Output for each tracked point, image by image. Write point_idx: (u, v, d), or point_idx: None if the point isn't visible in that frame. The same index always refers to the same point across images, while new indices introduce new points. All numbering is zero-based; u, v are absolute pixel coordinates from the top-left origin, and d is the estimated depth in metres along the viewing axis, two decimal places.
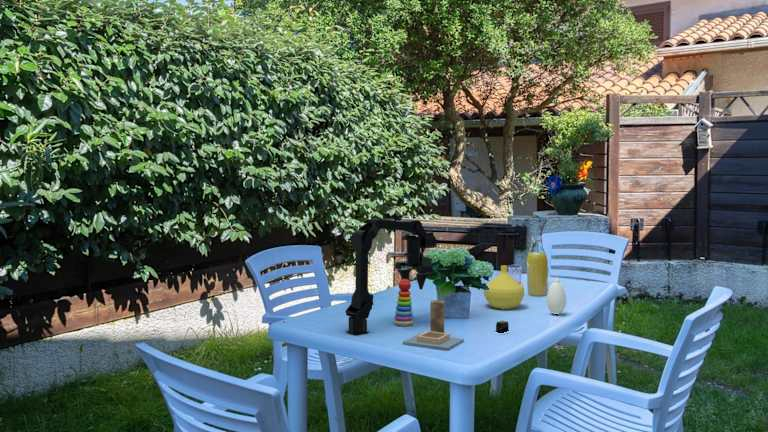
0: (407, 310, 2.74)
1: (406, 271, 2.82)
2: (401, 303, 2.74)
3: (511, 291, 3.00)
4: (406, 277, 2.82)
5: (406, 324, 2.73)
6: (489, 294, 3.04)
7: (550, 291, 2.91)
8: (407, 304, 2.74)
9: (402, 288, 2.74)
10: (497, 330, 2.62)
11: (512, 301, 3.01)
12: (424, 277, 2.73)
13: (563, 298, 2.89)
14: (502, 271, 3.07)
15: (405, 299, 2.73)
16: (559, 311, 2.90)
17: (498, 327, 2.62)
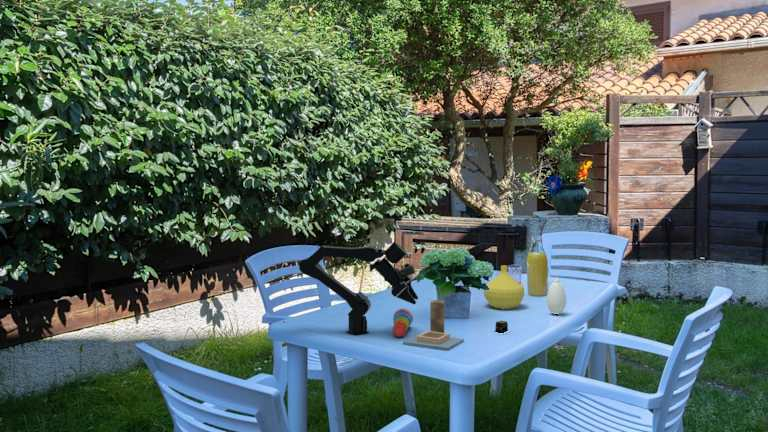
0: None
1: (406, 287, 2.64)
2: None
3: (511, 291, 3.00)
4: (410, 292, 2.64)
5: None
6: (489, 294, 3.04)
7: (550, 291, 2.91)
8: None
9: None
10: (497, 330, 2.62)
11: (512, 301, 3.01)
12: (407, 293, 2.53)
13: (563, 298, 2.89)
14: (502, 271, 3.07)
15: None
16: (559, 311, 2.90)
17: (497, 327, 2.62)
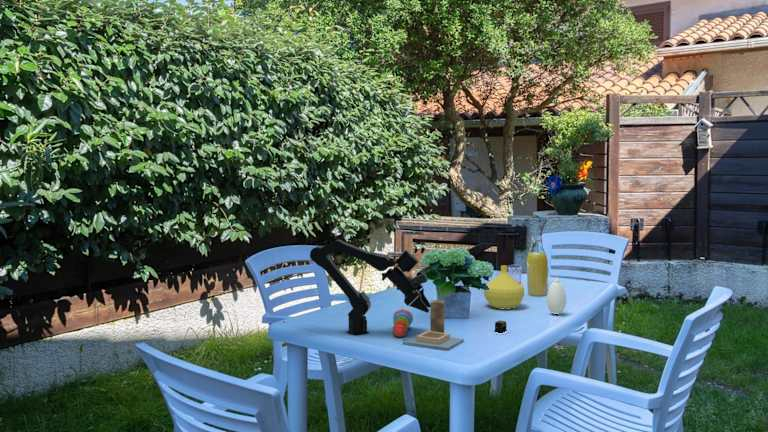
0: None
1: (419, 295, 2.64)
2: None
3: (511, 291, 3.00)
4: (423, 300, 2.63)
5: None
6: (489, 294, 3.04)
7: (550, 291, 2.91)
8: None
9: None
10: (496, 330, 2.62)
11: (512, 301, 3.01)
12: (419, 301, 2.53)
13: (563, 298, 2.89)
14: (502, 271, 3.07)
15: None
16: (559, 311, 2.90)
17: (497, 327, 2.62)
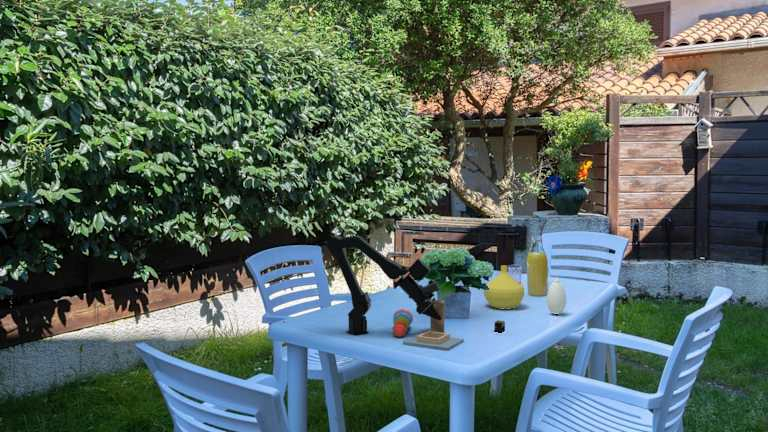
0: None
1: None
2: None
3: (511, 291, 3.00)
4: None
5: None
6: (489, 294, 3.04)
7: (550, 291, 2.91)
8: None
9: None
10: (496, 330, 2.62)
11: (512, 301, 3.01)
12: (432, 309, 2.54)
13: (563, 298, 2.89)
14: (502, 271, 3.07)
15: None
16: (559, 311, 2.90)
17: (497, 327, 2.62)
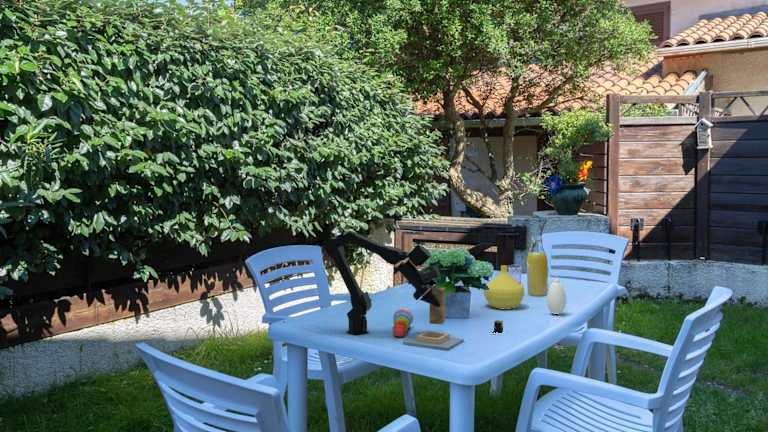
0: None
1: None
2: None
3: (511, 291, 3.00)
4: None
5: None
6: (489, 294, 3.04)
7: (550, 291, 2.91)
8: None
9: None
10: (496, 330, 2.62)
11: (512, 301, 3.01)
12: (430, 296, 2.50)
13: (563, 298, 2.89)
14: (502, 271, 3.07)
15: None
16: (559, 311, 2.90)
17: (496, 327, 2.62)
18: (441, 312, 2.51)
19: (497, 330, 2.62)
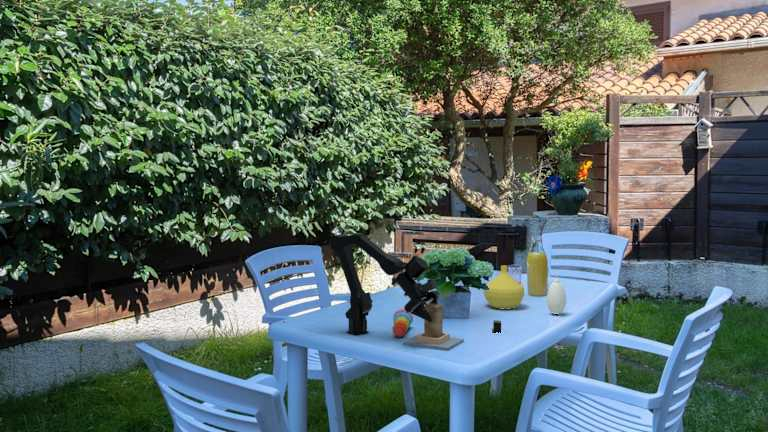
0: None
1: None
2: None
3: (511, 291, 3.00)
4: None
5: None
6: (489, 294, 3.04)
7: (550, 291, 2.91)
8: None
9: None
10: (495, 330, 2.62)
11: (512, 301, 3.01)
12: (422, 310, 2.42)
13: (563, 298, 2.89)
14: (502, 271, 3.07)
15: None
16: (559, 311, 2.90)
17: (496, 327, 2.62)
18: (435, 330, 2.43)
19: (497, 330, 2.62)
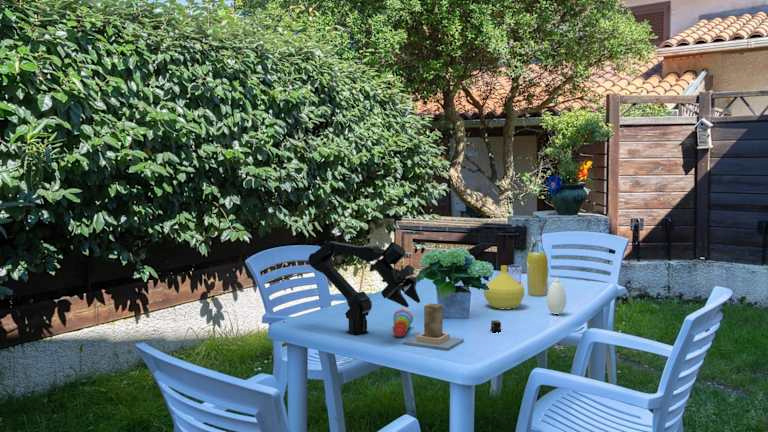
0: None
1: (409, 289, 2.56)
2: None
3: (511, 291, 3.00)
4: (412, 295, 2.55)
5: None
6: (489, 294, 3.04)
7: (550, 291, 2.91)
8: None
9: None
10: (495, 330, 2.62)
11: (512, 301, 3.01)
12: (398, 295, 2.46)
13: (563, 298, 2.89)
14: (502, 271, 3.07)
15: None
16: (559, 311, 2.90)
17: (496, 327, 2.62)
18: (435, 330, 2.43)
19: (496, 330, 2.62)
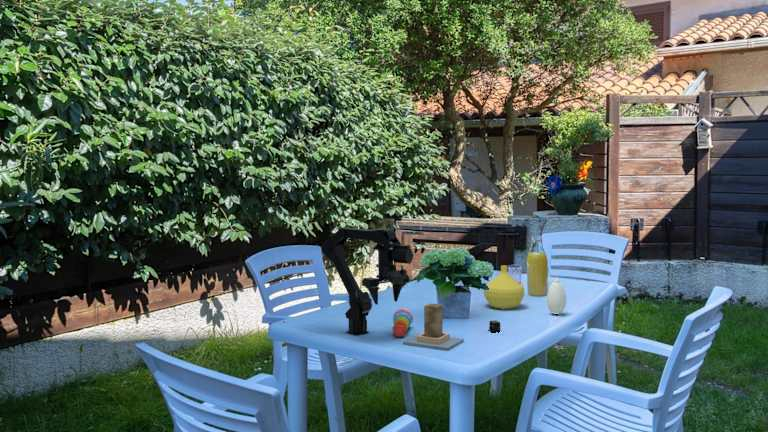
0: None
1: (396, 285, 2.58)
2: None
3: (511, 291, 3.00)
4: (395, 291, 2.58)
5: None
6: (489, 294, 3.04)
7: (550, 291, 2.91)
8: None
9: None
10: (495, 331, 2.61)
11: (512, 301, 3.01)
12: (374, 291, 2.51)
13: (563, 298, 2.89)
14: (502, 271, 3.07)
15: None
16: (559, 311, 2.90)
17: (496, 327, 2.61)
18: (435, 330, 2.43)
19: (496, 330, 2.62)
